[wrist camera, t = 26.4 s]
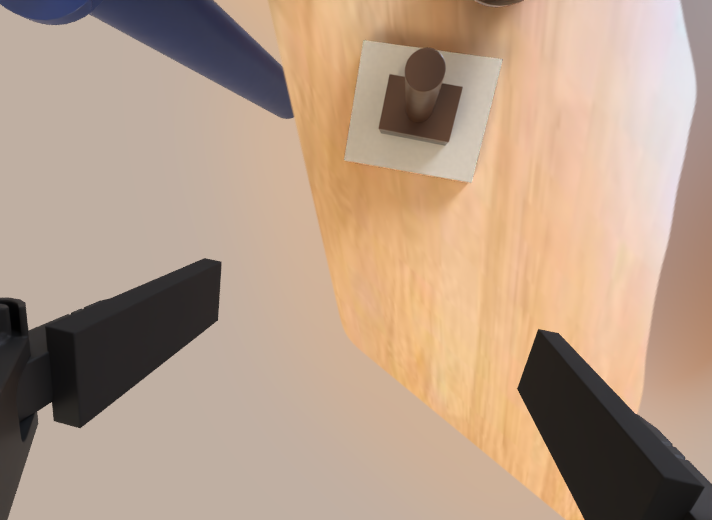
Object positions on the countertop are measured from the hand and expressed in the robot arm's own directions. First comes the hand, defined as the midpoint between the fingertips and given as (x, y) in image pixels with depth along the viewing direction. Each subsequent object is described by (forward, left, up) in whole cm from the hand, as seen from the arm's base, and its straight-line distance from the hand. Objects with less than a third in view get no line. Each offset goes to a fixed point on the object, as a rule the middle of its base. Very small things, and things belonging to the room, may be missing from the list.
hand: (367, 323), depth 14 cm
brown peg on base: (0, +13, -25) cm, 28 cm away
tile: (0, +13, -27) cm, 30 cm away
